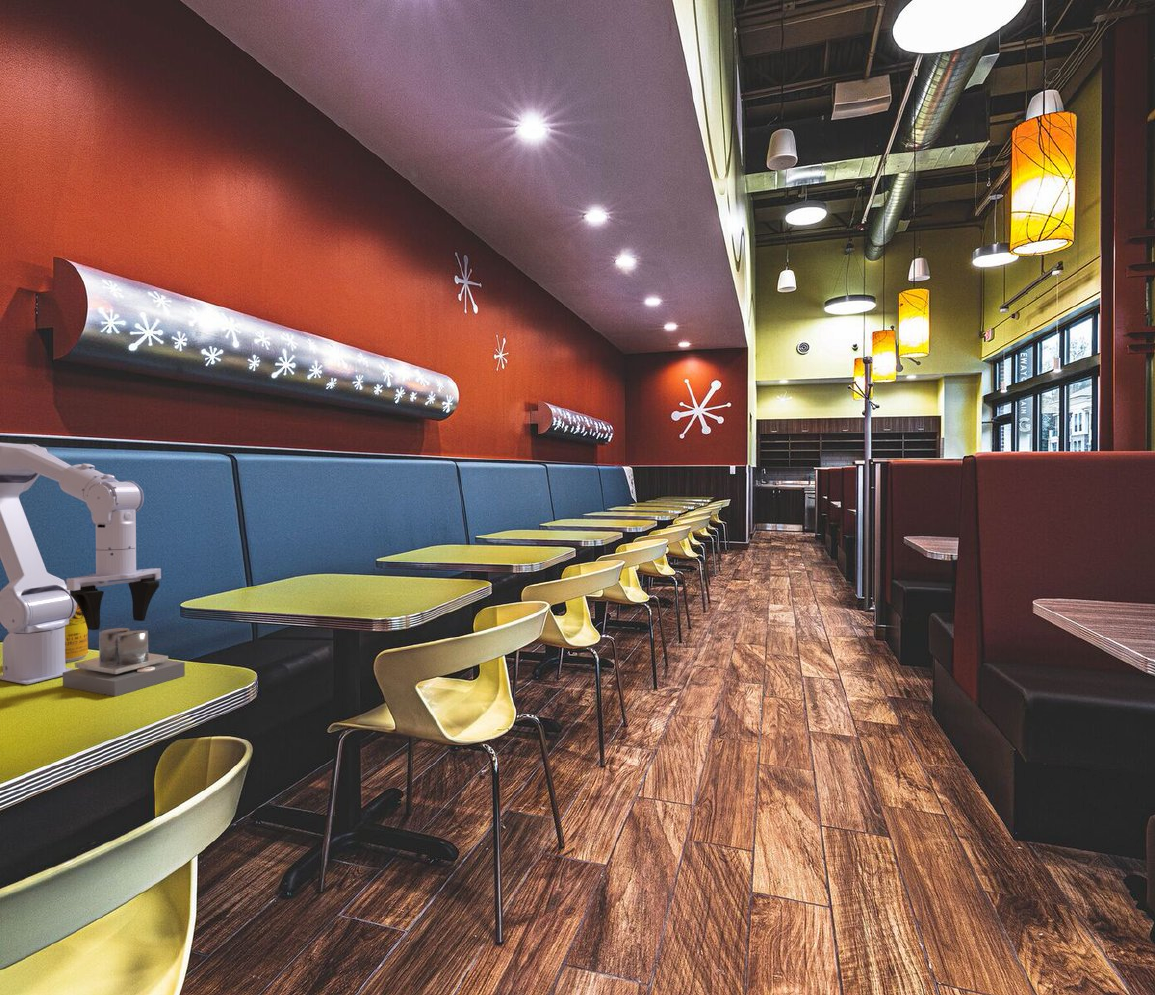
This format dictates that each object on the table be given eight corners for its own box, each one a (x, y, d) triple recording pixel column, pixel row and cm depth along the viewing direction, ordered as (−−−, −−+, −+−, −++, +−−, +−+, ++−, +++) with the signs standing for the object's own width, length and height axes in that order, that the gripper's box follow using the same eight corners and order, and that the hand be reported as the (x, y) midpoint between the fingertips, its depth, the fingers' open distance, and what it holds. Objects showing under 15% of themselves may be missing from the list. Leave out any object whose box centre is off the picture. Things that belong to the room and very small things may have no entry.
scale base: (62, 686, 106) (62, 669, 106) (134, 667, 117) (134, 652, 117) (115, 696, 101) (114, 678, 101) (184, 675, 112) (184, 659, 112)
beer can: (65, 664, 119) (64, 588, 119) (40, 663, 121) (39, 587, 120) (95, 656, 125) (94, 584, 125) (71, 654, 127) (70, 583, 126)
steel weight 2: (112, 663, 107) (111, 635, 107) (137, 656, 111) (136, 629, 111) (129, 665, 105) (128, 636, 105) (154, 658, 109) (153, 631, 109)
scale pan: (75, 667, 107) (74, 662, 107) (128, 654, 116) (128, 650, 116) (115, 674, 103) (115, 669, 103) (168, 660, 112) (168, 655, 112)
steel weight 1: (95, 659, 109) (94, 631, 109) (123, 653, 113) (123, 626, 113) (105, 663, 107) (105, 634, 107) (134, 657, 111) (133, 629, 111)
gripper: (84, 553, 100) (85, 635, 100) (171, 545, 113) (172, 618, 114) (58, 552, 102) (59, 632, 103) (146, 544, 116) (147, 615, 116)
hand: (117, 624), depth 108 cm, fingers open, 7 cm apart
